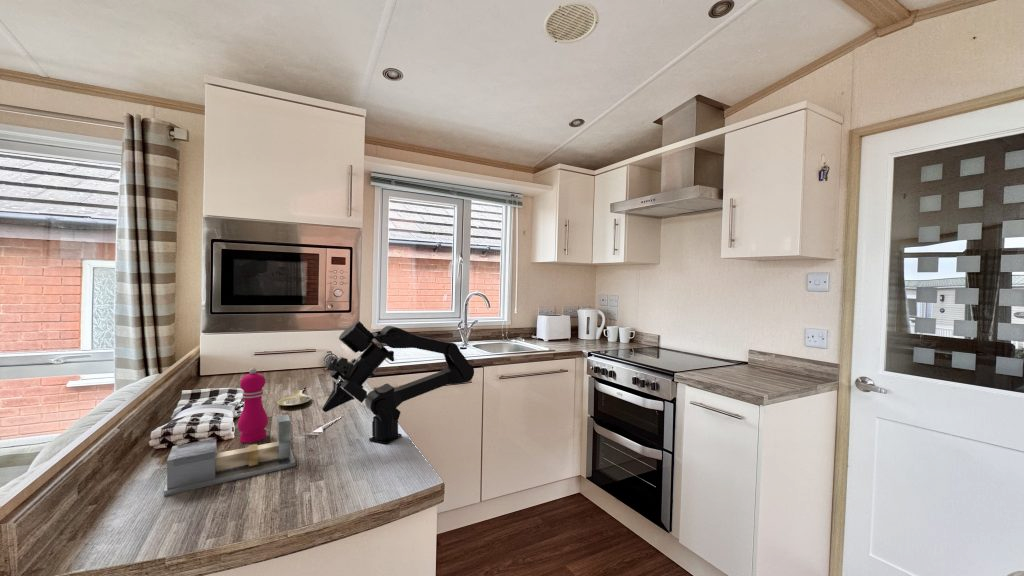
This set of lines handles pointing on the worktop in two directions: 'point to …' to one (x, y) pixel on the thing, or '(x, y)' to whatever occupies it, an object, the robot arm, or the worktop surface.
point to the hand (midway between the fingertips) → (323, 410)
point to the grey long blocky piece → (209, 467)
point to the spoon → (296, 395)
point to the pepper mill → (252, 408)
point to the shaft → (258, 449)
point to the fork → (322, 427)
